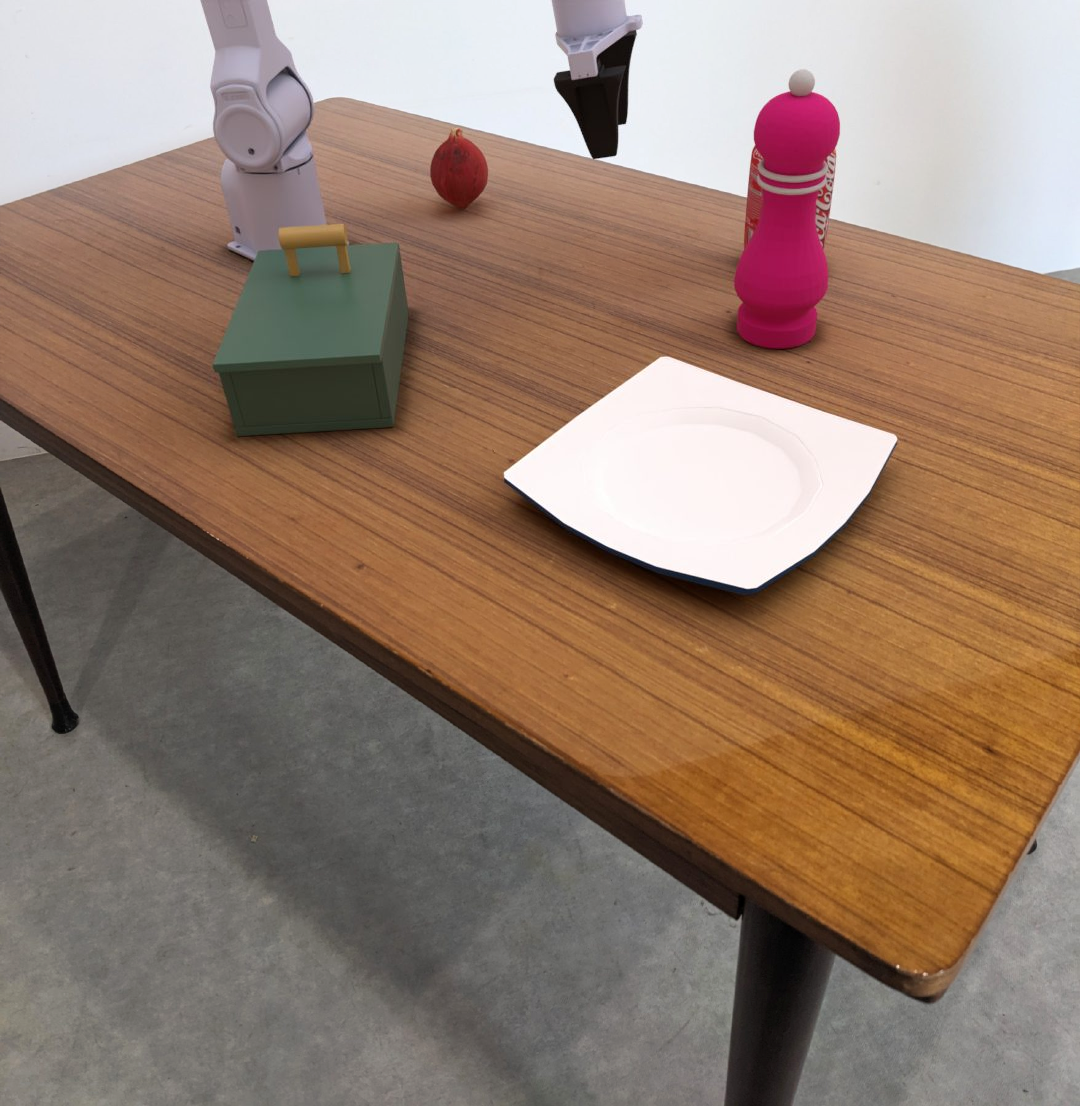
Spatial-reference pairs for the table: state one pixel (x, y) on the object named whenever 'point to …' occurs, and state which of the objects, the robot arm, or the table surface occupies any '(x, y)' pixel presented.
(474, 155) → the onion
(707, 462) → the plate
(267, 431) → the chest
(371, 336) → the lid
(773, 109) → the pepper mill
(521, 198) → the table surface
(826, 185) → the soda can
